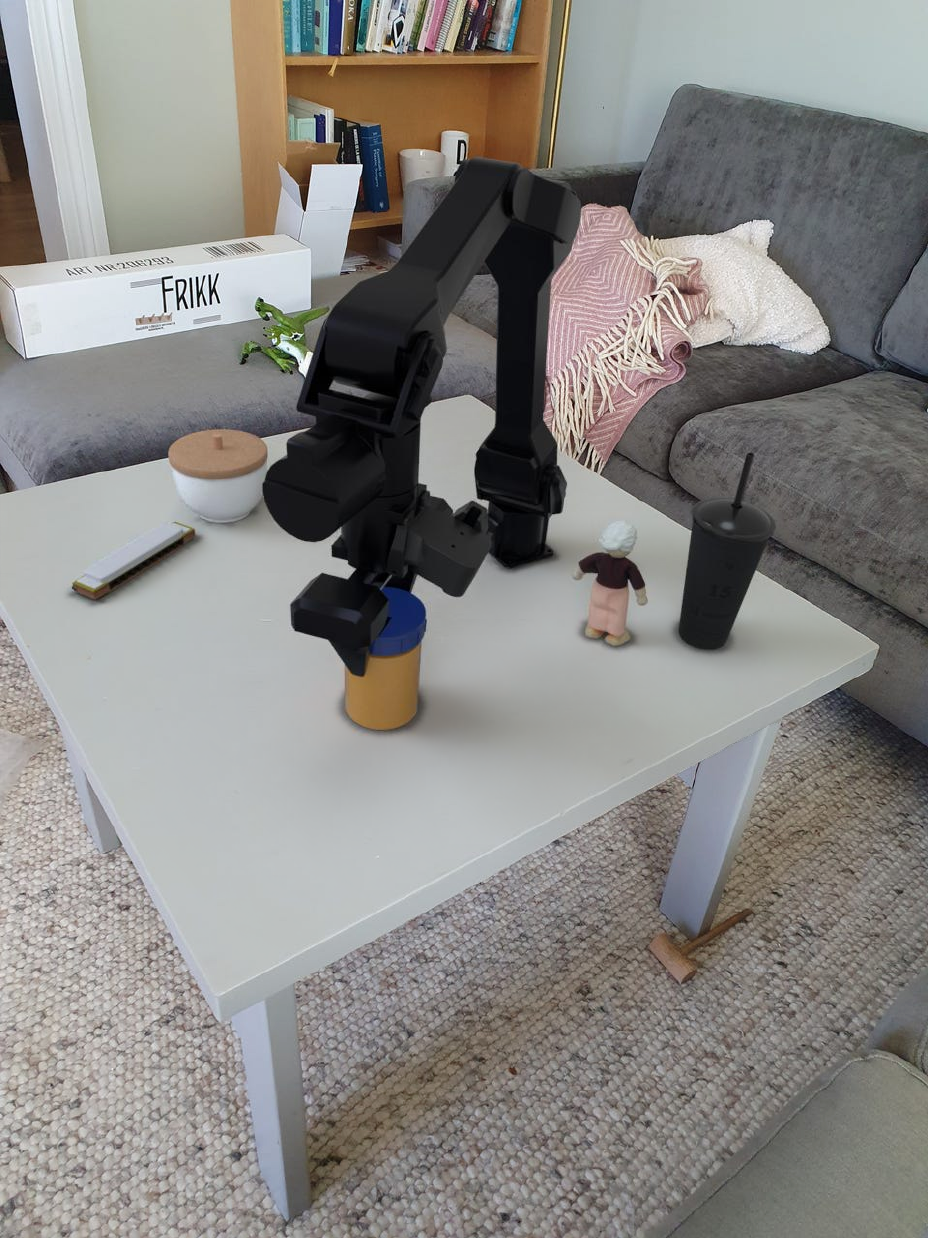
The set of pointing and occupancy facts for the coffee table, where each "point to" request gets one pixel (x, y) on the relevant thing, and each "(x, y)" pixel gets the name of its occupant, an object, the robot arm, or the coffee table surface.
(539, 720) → the coffee table surface
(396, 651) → the lid
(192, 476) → the trinket box
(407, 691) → the jar
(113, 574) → the harmonica
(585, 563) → the grandmother figurine
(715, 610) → the drinking cup
